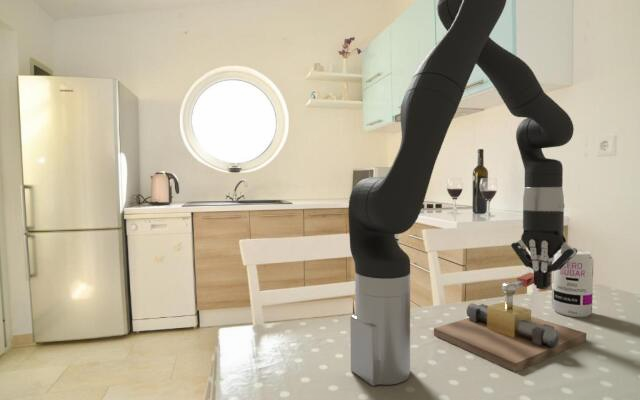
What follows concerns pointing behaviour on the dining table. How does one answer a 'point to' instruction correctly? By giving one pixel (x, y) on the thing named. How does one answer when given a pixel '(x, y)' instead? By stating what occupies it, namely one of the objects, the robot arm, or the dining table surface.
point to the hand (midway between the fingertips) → (542, 288)
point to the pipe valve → (513, 322)
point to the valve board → (506, 343)
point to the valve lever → (518, 283)
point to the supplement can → (573, 285)
